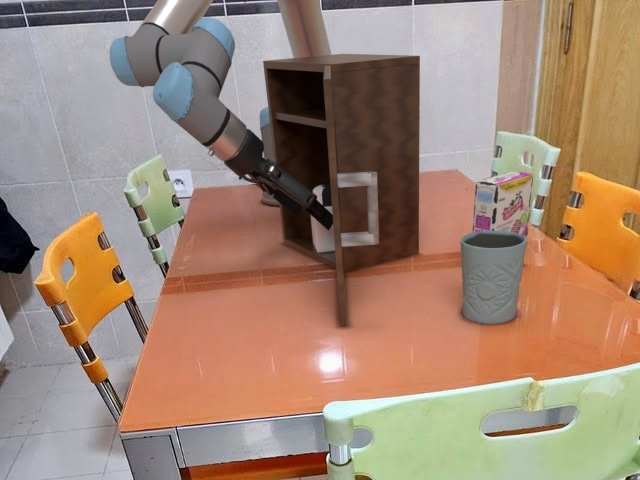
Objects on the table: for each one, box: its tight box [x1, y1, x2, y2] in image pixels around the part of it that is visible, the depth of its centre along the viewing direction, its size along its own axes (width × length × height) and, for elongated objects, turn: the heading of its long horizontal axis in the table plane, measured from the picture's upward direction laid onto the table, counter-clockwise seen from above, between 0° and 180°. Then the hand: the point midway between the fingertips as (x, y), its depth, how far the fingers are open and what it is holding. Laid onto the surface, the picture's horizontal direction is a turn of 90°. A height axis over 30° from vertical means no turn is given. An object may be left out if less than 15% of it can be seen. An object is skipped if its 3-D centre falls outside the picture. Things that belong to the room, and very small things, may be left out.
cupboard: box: [262, 53, 421, 273], centre depth 129 cm, size 18×26×34 cm
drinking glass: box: [460, 231, 528, 325], centre depth 103 cm, size 10×10×12 cm
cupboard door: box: [323, 66, 379, 327], centre depth 105 cm, size 7×26×34 cm, turn 2°
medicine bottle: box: [311, 184, 335, 253], centre depth 133 cm, size 7×7×12 cm
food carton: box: [472, 171, 534, 238], centre depth 118 cm, size 11×5×16 cm, turn 135°
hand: (315, 217), depth 131 cm, fingers open, 13 cm apart
